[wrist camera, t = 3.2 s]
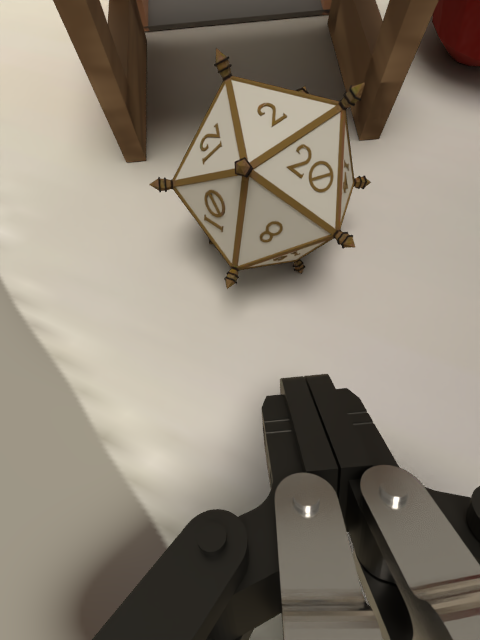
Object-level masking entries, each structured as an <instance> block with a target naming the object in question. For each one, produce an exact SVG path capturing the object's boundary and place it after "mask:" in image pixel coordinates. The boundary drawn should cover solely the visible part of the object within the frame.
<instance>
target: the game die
mask: <svg viewBox="0 0 480 640" xmlns="http://www.w3.org/2000/svg"><path fill="white" fill-rule="evenodd" d="M228 59H229V56H228V57H226V56H225V55H224V54H223V53H222V52H220V51H219V50H218V49H217V48H216V64H214V65H215V66H217V69H218V73H220V75H221V76H222V77H223V82H222V84H221V86H220V88H219V90H218V92H217V94H216V96H215V98H214V100H213V102H212V104H211V106H210V108H209V110H208V112H207V113H206V115H205V117H204V119H203V121H202V123H201V125H200V127H199V129H198V131H197V133H196V135H195V137H194V139H193V141H192V143H191V145H190V147H189V148H188V150H187V152H186V154H185V156H184V158H183V160H182V162H181V164H180V166H179V168H178V170H177V172H176V174H175V176H174V178H173V180H168V179H166V178H164V179H160V177H158V179H157V180H155V181H154V182H152V183H151V184H149V185H151V186H152V187H154V188H156V189H157V190H159V191H160V192H161V191H165V192H167V190H169V189H173V190H174V191H175V193H176V194H177V195H178V197H179V198H180V199H181V201H182V202H183V203H184V205H185V206H186V207H187V209H188V210H189V212H190V213H191V214H192V216H193V217H194V218H195V220H196V221H197V222H198V224H199V225H200V226H201V228H202V229H203V230H204V232H205V233H206V235H207V236H208V237H209V244H214V245H215V247H216V248H217V249H218V251H219V252H220V253H221V255H222V256H223V258H224V259H225V260H226V262H227V263H228V264H229V266H230V267H231V270H230V271H229V272H227V277H225V278H224V279H225V281H226V286H227V289H228V288H229V287H231V286H232V285H233V284H235V283H237V282H236V280H237V278H239V277H238V271H239V270H244V269H250V268H257V267H263V266H269V265H276V264H282V263H288V262H294V264H293V267H294V268H295V269H294V271H298V272H300V273H301V274H302V272H303V269H304V268H305V266H304V265H303V262H302V261H301V260H300V259H301V258H302V257H304V256H306V255H307V254H309V253H310V252H312V251H314V250H315V249H317V248H319V247H320V246H322V245H324V244H325V243H327V242H328V241H330V240H332V239H333V238H335V239H336V240H337V243H338V244H341V245H342V248H345V247H355V245H354V241H353V235H349V234H348V232H341V230H340V228H341V225H342V222H343V219H344V215H345V212H346V209H347V206H348V202H349V199H350V196H351V193H352V189H353V187H354V186H355V187H356V188H358V189H360V188H362V189H364V188H365V187H366V186H367V185H368V184H369V183H371V182H370V181H369V180H367V179H366V177H365V176H363V177H360V176H359V177H357V178H354V173H353V165H352V157H351V149H350V140H349V132H348V124H347V116H346V110H347V108H349V107H350V106H355V103H356V102H357V101H358V100H359V101H360V100H361V94H362V91H363V88H364V85H365V83H362V84H358V85H355V86H352V85H351V86H350V88H349V91H348V92H345V94H344V95H343V96H344V97H343V99H342V100H341V101H335V100H331V99H327V98H323V97H319V96H314V95H310V94H308V92H307V90H306V87H305V86H304V87H302V88H300V89H298V90H296V91H294V90H289V89H285V88H281V87H277V86H273V85H269V84H264V83H260V82H256V81H252V80H248V79H244V78H240V77H235V76H232V74H231V69H230V67H231V64H229V61H228Z"/></svg>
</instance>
